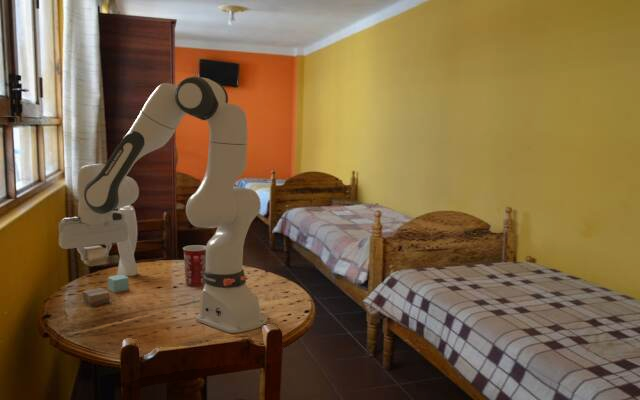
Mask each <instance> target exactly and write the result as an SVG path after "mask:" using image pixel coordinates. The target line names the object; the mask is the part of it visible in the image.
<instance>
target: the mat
mask: <svg viewBox="0 0 640 400" xmlns="http://www.w3.org/2000/svg"><path fill="white" fill-rule="evenodd" d="M80 301H81V302H82V303H84V304H85V305H86V306H88V307H92V306H98V305H103V304H107V303H111V302H112V300H110V301H109V302H104V303H100V304H95V305H89V304H87V303H86V302H85V301H83V299H80Z"/></svg>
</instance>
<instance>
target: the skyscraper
mask: <svg viewBox="0 0 640 400" xmlns="http://www.w3.org/2000/svg"><path fill="white" fill-rule="evenodd" d="M117 211H119V212H121V213H123V214H125V219H124V221H125V222H126V224H127V228H128V239H127V240H126V241H124V242H116V245H117V250H118V251H117V252H118V254H119V261H118V266H117V271H116V272H117V273H116V275H124V276H126V277H128V276H131V277H133V276H136V275H139V271H138V268H137V264H136V259H135V251H136V247H137V241H138V230H139V229H138V221H137V215H136V210H135V208H134V206H133V205H132V204H130V205H128V206H125V207H122V208H118V209H117Z"/></svg>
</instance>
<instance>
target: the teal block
mask: <svg viewBox="0 0 640 400" xmlns="http://www.w3.org/2000/svg"><path fill="white" fill-rule="evenodd" d="M129 285H130V284H129V277H128V276H124V275H117V274H116V275H111V276H107V289H108V290H110V291H111V292H112V293H114V294H115V293H119V292H124V291H129V287H130V286H129Z"/></svg>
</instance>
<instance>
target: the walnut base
mask: <svg viewBox="0 0 640 400" xmlns="http://www.w3.org/2000/svg"><path fill="white" fill-rule="evenodd" d="M82 300H83V301H85V302H86V303H87V304H89V305H94V306H96V305H95V304H98V305H101V304H100V303H103V304H105V303H104V302H108V303H110V302H109V301H111V299H110V292H109V291H107V289H105V288H103V287H97V288H93V289H88V290H87V289H86V290H83V291H82Z"/></svg>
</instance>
